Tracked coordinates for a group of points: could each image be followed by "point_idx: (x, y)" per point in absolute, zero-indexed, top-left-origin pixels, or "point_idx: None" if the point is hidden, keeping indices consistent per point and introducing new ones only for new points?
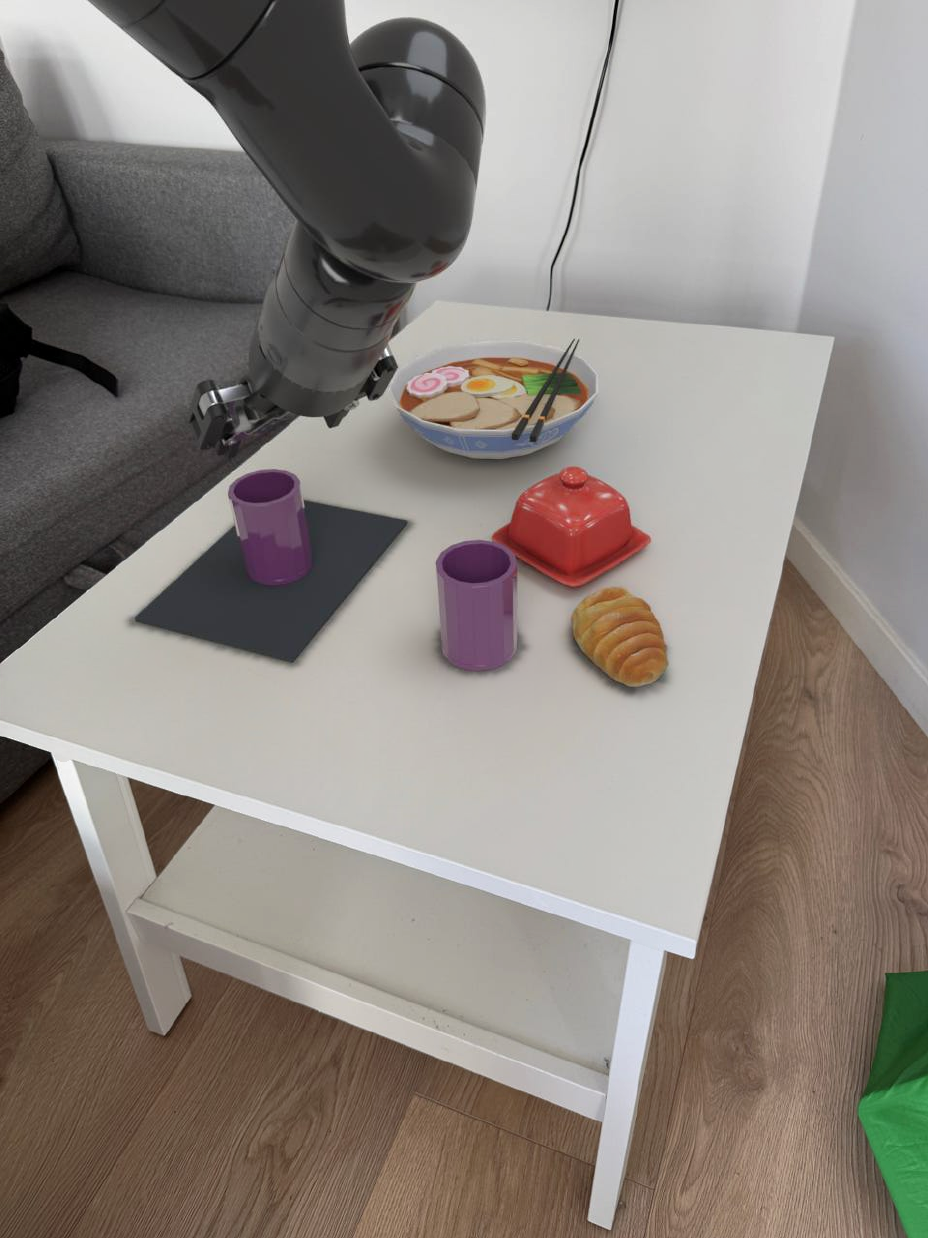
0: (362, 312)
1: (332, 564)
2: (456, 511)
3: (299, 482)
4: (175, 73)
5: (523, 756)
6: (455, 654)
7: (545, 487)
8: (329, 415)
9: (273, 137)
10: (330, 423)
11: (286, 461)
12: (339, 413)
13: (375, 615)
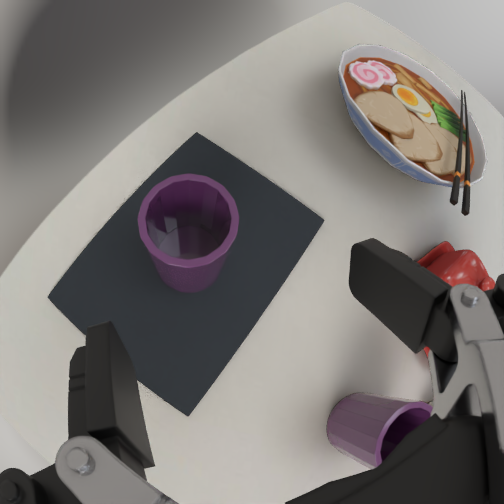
0: None
1: (243, 271)
2: (365, 217)
3: (238, 222)
4: None
5: None
6: (338, 449)
7: (464, 283)
8: (373, 296)
9: None
10: (362, 298)
11: (220, 92)
12: (409, 346)
13: (276, 364)
